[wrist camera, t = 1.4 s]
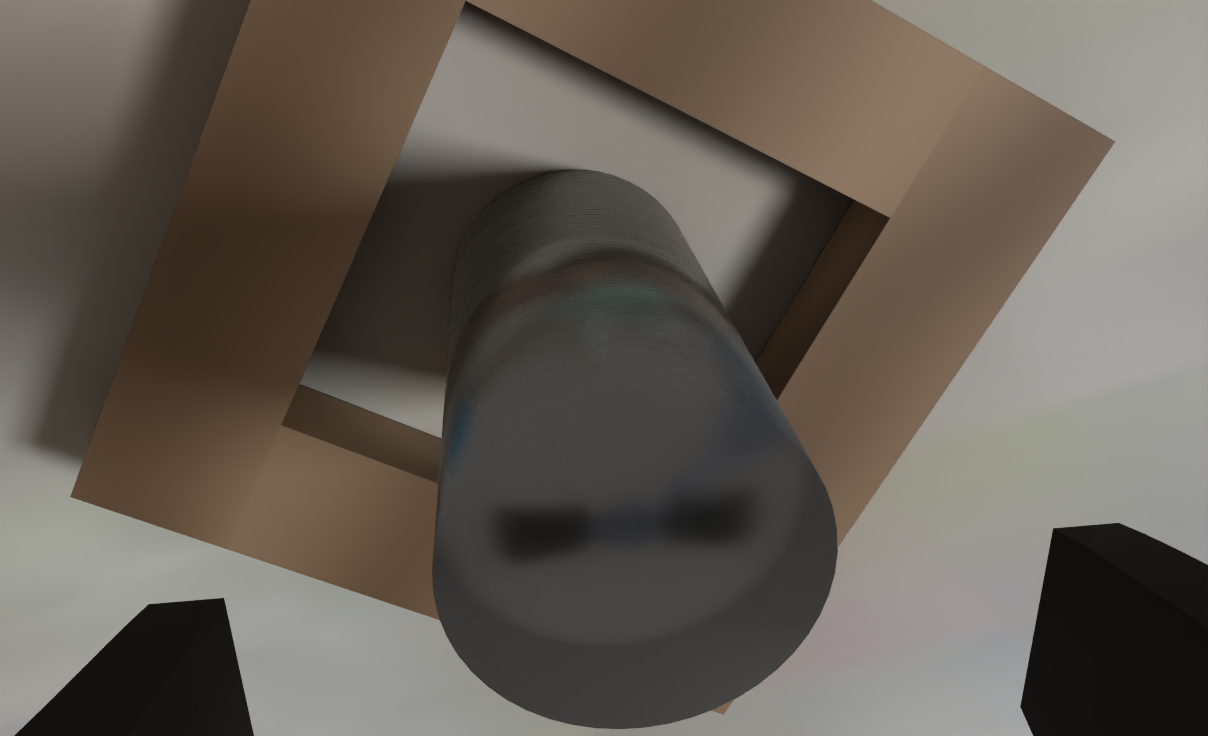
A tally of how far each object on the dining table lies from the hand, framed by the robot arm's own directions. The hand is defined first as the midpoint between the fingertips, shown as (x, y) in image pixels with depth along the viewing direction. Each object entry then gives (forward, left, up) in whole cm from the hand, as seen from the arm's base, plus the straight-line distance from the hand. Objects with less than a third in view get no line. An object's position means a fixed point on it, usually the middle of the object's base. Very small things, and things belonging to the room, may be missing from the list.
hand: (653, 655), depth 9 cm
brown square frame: (0, 0, -9) cm, 9 cm away
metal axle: (0, 0, -9) cm, 9 cm away
